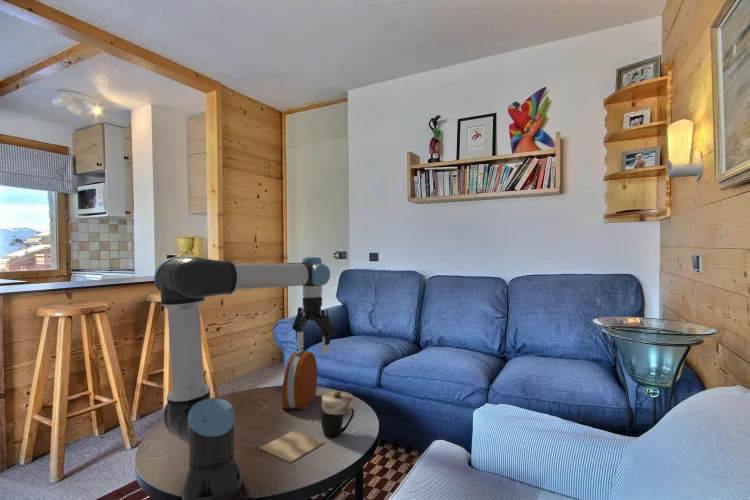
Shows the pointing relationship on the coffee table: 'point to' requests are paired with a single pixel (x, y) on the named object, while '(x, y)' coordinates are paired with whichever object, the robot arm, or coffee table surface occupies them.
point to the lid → (337, 402)
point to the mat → (291, 446)
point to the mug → (333, 424)
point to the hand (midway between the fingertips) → (312, 350)
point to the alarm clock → (299, 380)
